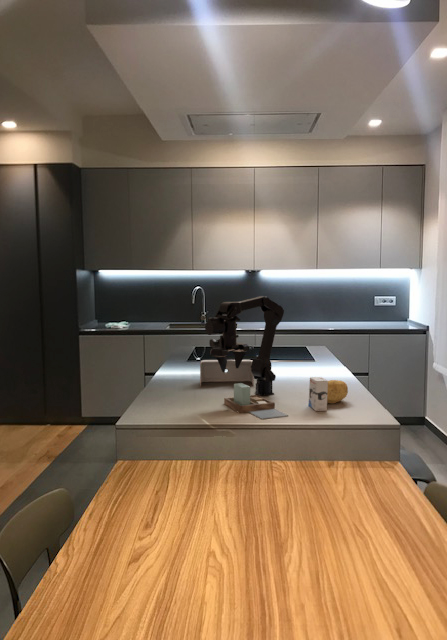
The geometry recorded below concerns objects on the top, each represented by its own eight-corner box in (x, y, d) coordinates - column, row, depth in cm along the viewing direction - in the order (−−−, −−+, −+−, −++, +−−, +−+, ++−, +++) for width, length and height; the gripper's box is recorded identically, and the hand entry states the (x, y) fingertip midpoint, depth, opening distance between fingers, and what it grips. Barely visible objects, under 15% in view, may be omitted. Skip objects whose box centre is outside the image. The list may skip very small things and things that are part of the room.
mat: (273, 409, 199) (273, 408, 199) (288, 416, 189) (288, 415, 189) (248, 412, 195) (248, 411, 195) (261, 419, 185) (261, 418, 185)
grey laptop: (251, 382, 253) (251, 357, 252) (253, 389, 237) (253, 362, 236) (200, 382, 252) (200, 357, 251) (200, 389, 236) (199, 363, 235)
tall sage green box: (241, 404, 207) (241, 383, 206) (250, 409, 199) (250, 386, 199) (233, 405, 205) (233, 383, 205) (242, 410, 198) (242, 387, 197)
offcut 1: (255, 400, 210) (255, 396, 210) (262, 402, 206) (262, 398, 206) (249, 401, 208) (249, 397, 208) (256, 403, 204) (256, 399, 204)
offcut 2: (264, 406, 204) (264, 400, 204) (268, 409, 200) (268, 403, 200) (256, 407, 203) (256, 401, 203) (260, 409, 199) (260, 403, 199)
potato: (351, 405, 204) (352, 382, 203) (316, 405, 203) (317, 381, 202) (343, 400, 214) (344, 377, 213) (310, 399, 213) (311, 377, 212)
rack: (257, 400, 214) (257, 394, 213) (274, 409, 199) (274, 402, 199) (224, 404, 208) (224, 398, 208) (239, 413, 194) (239, 406, 193)
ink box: (308, 405, 204) (309, 376, 203) (319, 405, 204) (321, 376, 203) (314, 411, 195) (316, 380, 194) (327, 411, 196) (328, 380, 195)
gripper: (228, 329, 221) (229, 364, 222) (199, 334, 207) (200, 372, 208) (248, 330, 214) (249, 367, 215) (220, 335, 200) (222, 374, 201)
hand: (230, 370), depth 210 cm, fingers open, 9 cm apart
